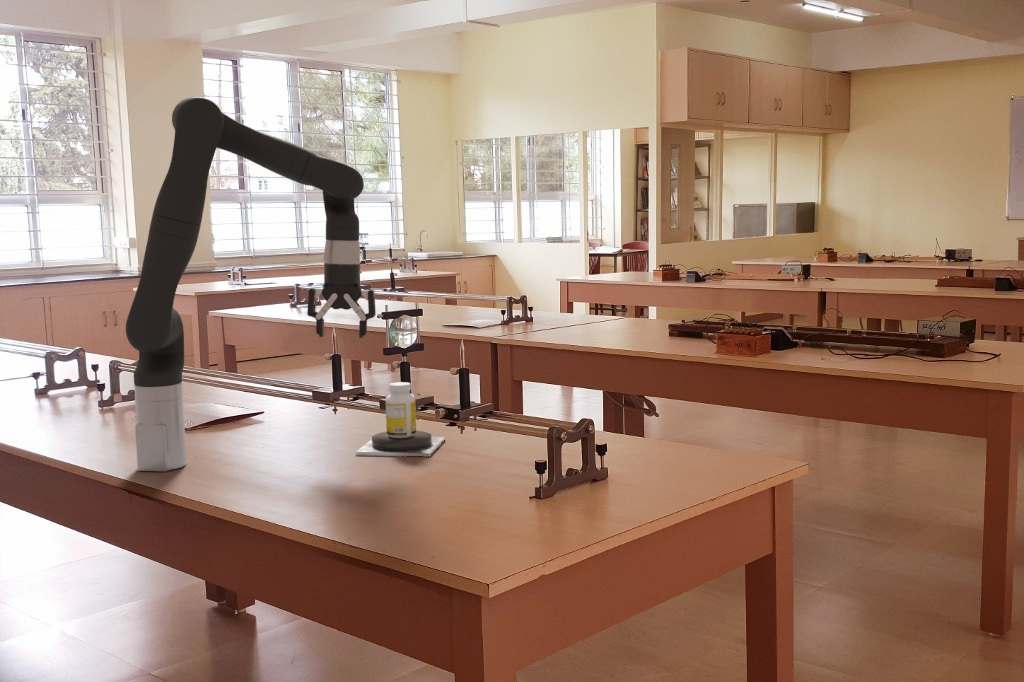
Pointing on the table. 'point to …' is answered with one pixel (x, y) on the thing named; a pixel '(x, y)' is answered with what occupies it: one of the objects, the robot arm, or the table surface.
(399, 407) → the pill bottle
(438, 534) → the table surface
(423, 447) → the stand
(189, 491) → the table surface
